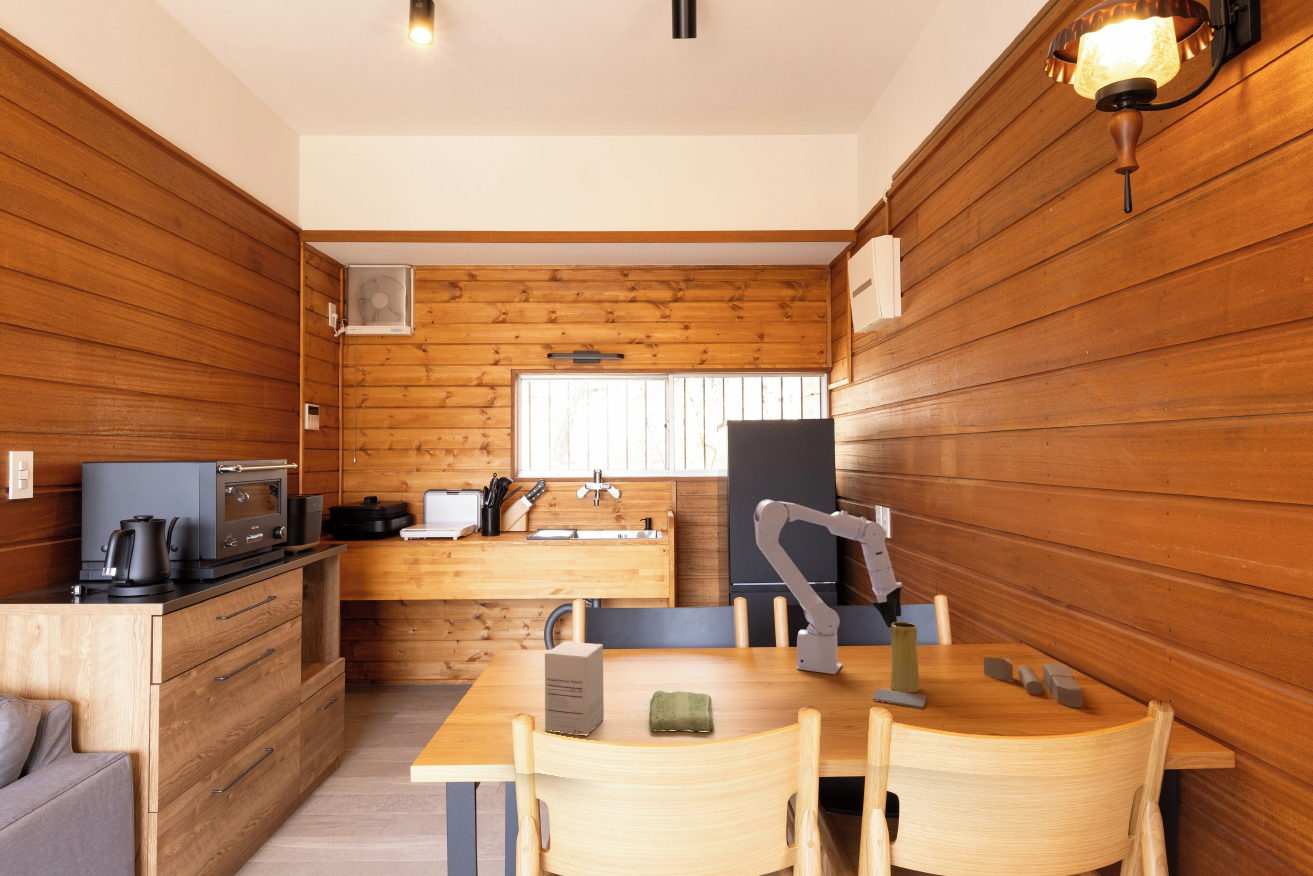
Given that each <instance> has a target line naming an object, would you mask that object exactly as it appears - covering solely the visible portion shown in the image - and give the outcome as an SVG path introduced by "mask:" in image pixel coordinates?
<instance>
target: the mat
mask: <svg viewBox="0 0 1313 876" xmlns="http://www.w3.org/2000/svg"><path fill="white" fill-rule="evenodd" d="M927 699H928V696H927V695H925V694H919V693H906V692H900V691H895V690H893V689H892V690H891V689H886V688H878V689H877V690H876V692H875V693H874V695H873V697H872V701H873V700H878V701H884V702H890V703H891V702H892V703H894V704H893V705H896V704H898V705H897V706H902V705H904V707H908V706H909V708H915V707H916V709H921V708H922V710H924V707H925V705H926V701H927ZM884 702H883V703H884ZM890 703H889V704H890ZM910 706H911V707H910Z"/></svg>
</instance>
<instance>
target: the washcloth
mask: <svg viewBox="0 0 1313 876" xmlns="http://www.w3.org/2000/svg"><path fill="white" fill-rule="evenodd" d="M649 704H650V705H649V726H650V727H651V728H650V730H651V729H652V730H691V731H710V732H711V730H712V728H713V729H714V728H715V723H714V719H713V717H712V716H713V714H712V708H711V707H712V706H711V704H712V698H711V696H710V695H708V694H707V693H700V692H699V693H697V692H690V691H683V690H682V691H672V692H668V691H664V690H657V691H655V692H653V695H652V698H651V699H650V702H649ZM652 730H651V731H652Z"/></svg>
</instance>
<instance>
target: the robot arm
mask: <svg viewBox="0 0 1313 876" xmlns="http://www.w3.org/2000/svg"><path fill="white" fill-rule="evenodd" d="M796 520H799V521H800V520H801V521H805V522H807V523H812V524H815V525H820V526H824V527H826V528H827V529H828V531H829V533H830V534H832V535H835V536H839V537H842V538H846V539H849V540H852V541H858V542H859V543H860V544H861V548H862V552H863V556H864V560H865V564H866V567H867V568H866V569H867V572H868V575H869V578H870V582H871V585H872V588H871V589H872V591H873V593H874V594H875V597H876V598H875V599H873V600H872V603H871V604H872V605H873V607H874V608H875V609H876V611H878V613H879V614H880V615H881V617H882V619H883V621H884V623H885V625H886V627H887V628H890V629H892V628H891V624H892V623H893V622H898V621H897V619H898V618H897V617H902V605H901V593H902V587H903V584H902V582H901V581H899V582H897V581H896V577H895V573H894V569H893V565H892V562H891V559H890V555H889V552H888V551H889V550H888V548H887V545H886V538H887V531H886V530H885V529H884V527H883V526H882V524H880V523H878V522H874V521H871V520H868V519H867V518H866V517H864V516H860V517H858V516H855V515H850V514H848V511H845V510H841V511H835V512H833V513H831V514H828V513H826V512H825V513H824V512H823V511H819V510H816V509H813V508H810V507H807V506H803V505H800V504H797V503H792V502H787V501H779V500H778V501H775V500H773V499H770V498H769V499H763V500H761V501H760V502H759V503H758V504H757V505H756V508H755V512H754V513H753V522H754V530H755V531H754V533H755V543H756V545H757V547H758V548H759V549H758V550H760V551H761V553H762V554H763V555H764V557H765V558H766V559H767V561H768V562H769V564H771V566H772V568H773V569H774V570H775V571H776V572H777V575H779V578H781V579H782V581H783V582H784V584H785V585H786V586H787V587H788V589H789V590H790V592H791V593H792V594H793V596H794V597H795V599H797V601H798V603H799V605H800V607H801V608H802V609H803V612H804V617H805V619H806V621H807V623H809V624H808V625H807V627H806V629H800V630H799V631H798V632H797V633H798V634H797V637H796V638H797V639H796V664H797V665H796V670H804V671H810V672H815V673H816V672H817V673H823V674H830V675H836V674H837V673H838V671H839V670H840V669H841V667H842V666H843V663H840V662H838V629H839V627H840V623H841V622H840V617H839V614H838V613H837V611H835V610H834V609H832V608H830V607H829V606H828V605H827V604H826V602H824V600H822V598H821V597H820V596H819V595H818V594H817V592H816V591H815V590H814V589H813V587H812V586H811V584H810V583H809V582H808V580H807V579H806V578H805V577H804V575H803V574H802V572H801V571H800V570H799V568H798V567H797V566H796V565H795V563H794V562H793V560H792V559H791V558H790V556H789V555H788V553H787V552H786V551H785V550H784V548H783V547H782V545H781V544H780V543H779V538H780V535H781V531H782V529H783V527H784V525H785V524H786V522H788V523H790V522H795V521H796Z"/></svg>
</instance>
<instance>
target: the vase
mask: <svg viewBox="0 0 1313 876" xmlns="http://www.w3.org/2000/svg"><path fill="white" fill-rule="evenodd" d="M890 629H891V670H890V671H891V673H890V674H891V675H890V677H891V678H890V688H891V689H892V690H893V689H894V690H893V691H900V692H906V693H913V694H916V693H918V692H919V691H920V689H921V687H920V679H919V678H920V677H919V675H920V674H919V664H918V663H919V662H918V661H919V659H918V640H917V639H918V638H917V634H918V633H917V630H918V629H917V625H916V624H915V623H912V622H907V621H897V622H893V623H892V624H891V628H890Z"/></svg>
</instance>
